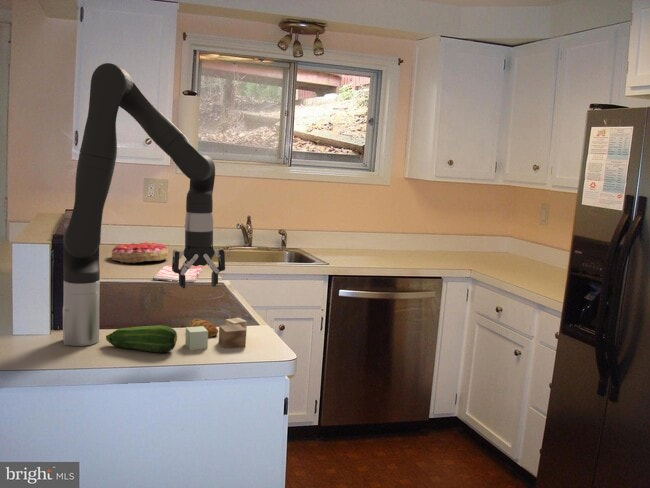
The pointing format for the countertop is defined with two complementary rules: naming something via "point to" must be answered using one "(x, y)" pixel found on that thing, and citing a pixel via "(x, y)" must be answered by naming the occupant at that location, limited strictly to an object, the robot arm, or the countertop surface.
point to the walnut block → (232, 336)
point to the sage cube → (196, 337)
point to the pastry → (210, 327)
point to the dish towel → (168, 274)
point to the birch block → (237, 322)
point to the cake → (139, 253)
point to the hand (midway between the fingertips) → (198, 286)
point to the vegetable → (144, 338)
